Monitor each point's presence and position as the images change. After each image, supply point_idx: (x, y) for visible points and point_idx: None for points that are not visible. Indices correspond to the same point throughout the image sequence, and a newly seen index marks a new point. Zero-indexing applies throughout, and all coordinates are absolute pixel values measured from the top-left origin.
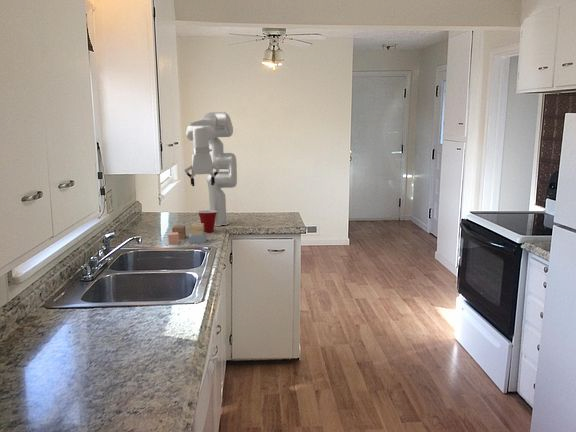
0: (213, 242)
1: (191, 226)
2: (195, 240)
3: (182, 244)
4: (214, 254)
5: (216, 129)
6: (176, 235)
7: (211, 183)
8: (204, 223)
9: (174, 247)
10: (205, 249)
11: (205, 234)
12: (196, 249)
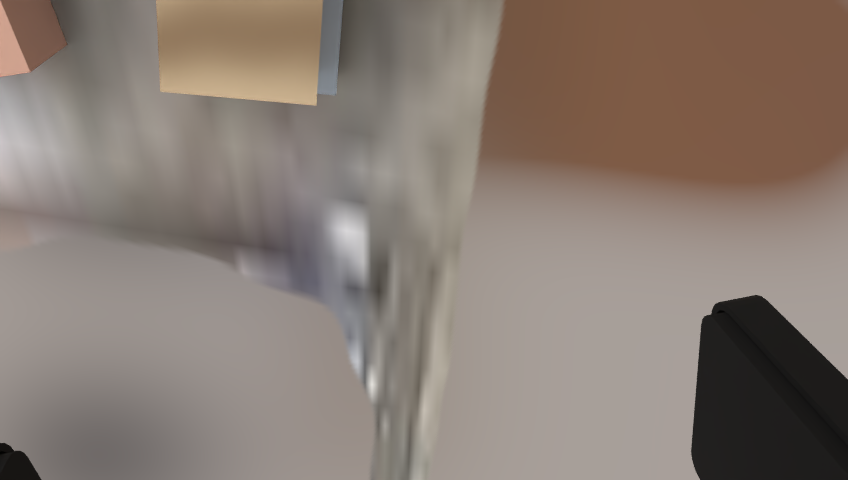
0: (415, 69)
1: (174, 92)
2: None
3: (114, 88)
4: (410, 410)
5: None
6: (10, 72)
7: (723, 395)
8: None
9: (63, 188)
10: (347, 289)
11: (342, 9)
12: (275, 279)
